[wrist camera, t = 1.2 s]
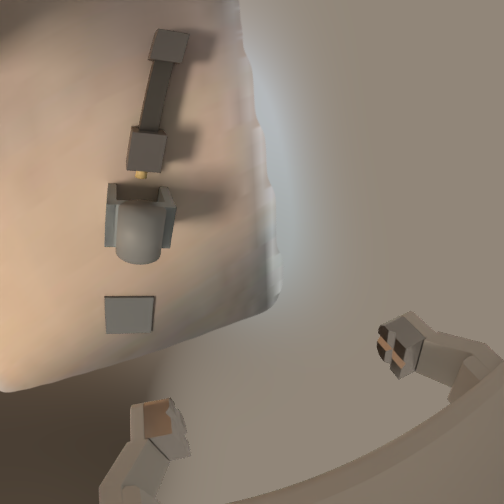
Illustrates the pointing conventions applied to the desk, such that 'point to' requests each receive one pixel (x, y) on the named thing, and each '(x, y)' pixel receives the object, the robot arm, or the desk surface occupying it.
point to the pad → (128, 314)
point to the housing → (139, 226)
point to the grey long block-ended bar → (155, 104)
